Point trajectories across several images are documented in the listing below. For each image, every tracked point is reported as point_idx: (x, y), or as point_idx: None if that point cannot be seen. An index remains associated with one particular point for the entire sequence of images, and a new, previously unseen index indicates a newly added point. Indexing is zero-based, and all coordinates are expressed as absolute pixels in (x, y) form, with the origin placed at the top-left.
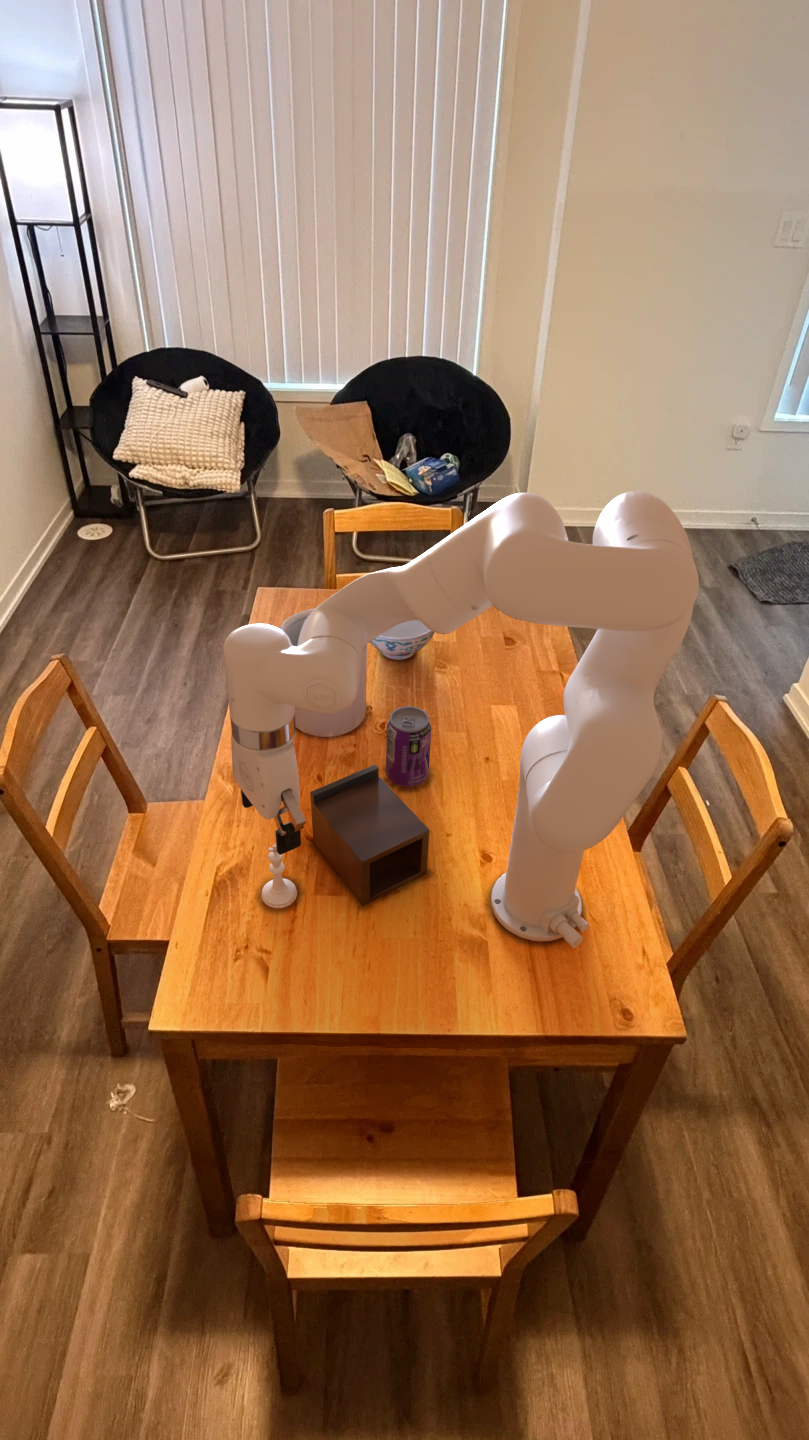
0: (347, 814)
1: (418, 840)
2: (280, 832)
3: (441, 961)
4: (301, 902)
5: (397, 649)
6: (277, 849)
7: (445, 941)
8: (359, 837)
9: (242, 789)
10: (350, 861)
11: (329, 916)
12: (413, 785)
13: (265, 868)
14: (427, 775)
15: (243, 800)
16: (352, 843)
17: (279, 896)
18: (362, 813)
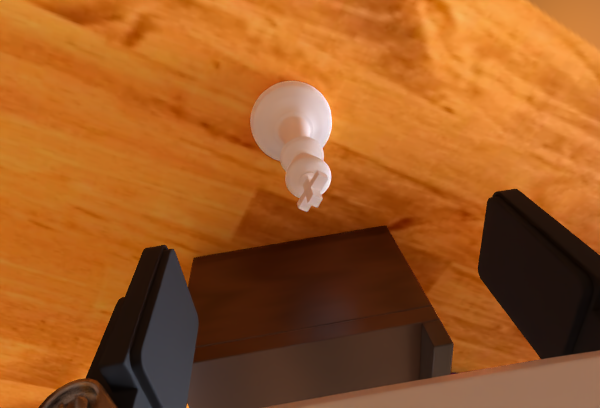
0: (342, 374)
1: None
2: (82, 393)
3: (30, 328)
4: (249, 158)
5: None
6: (147, 261)
7: (73, 344)
8: (257, 378)
9: (548, 390)
10: (233, 316)
11: (191, 197)
12: None
13: (378, 117)
14: None
15: (525, 215)
16: (244, 362)
17: (270, 122)
18: None
